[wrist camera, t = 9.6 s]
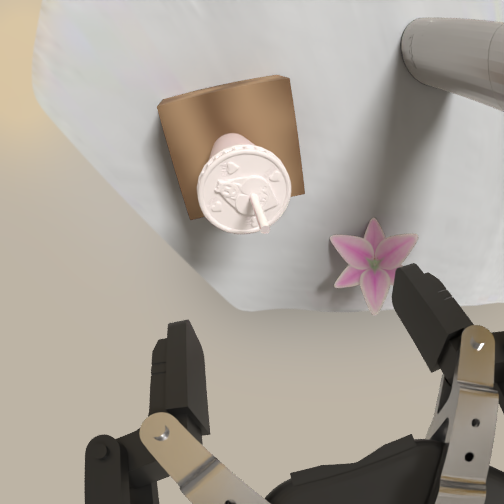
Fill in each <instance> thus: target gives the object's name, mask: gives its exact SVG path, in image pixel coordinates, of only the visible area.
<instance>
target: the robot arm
mask: <svg viewBox="0 0 504 504" xmlns="http://www.w3.org/2000/svg"><path fill="white" fill-rule="evenodd" d="M401 50H402V56H403V59H404V62H405V65H406V67H407V69H408V70H409V72H410V73H411V74H412V76H413V77H414V78H415V79H417V80H418V81H419V82H421V83H423V84H425V85H428V86H432V87H435V88H439V89H442V90H445V91H448V92H451V93H454V94H457V95H460V96H463V97H466V98H469V99H472V100H475V101H477V102H480V103H483V104H485V105H488V106H491V107H493V108H496V109H498V110H501V111H503V112H504V23H503V22H495V21H486V20H475V19H460V18H418V19H416V20H413V21H412V22H411V23H410V24H409V25H408V26H407V27H406V29H405V31H404V33H403V36H402V42H401ZM392 303H393V307H394V309H395V311H396V313H397V314H398V316H399V318H400V319H401V321H402V323H403V324H404V326H405V328H406V329H407V331H408V333H409V334H410V336H411V338H412V339H413V341H414V343H415V345H416V346H417V348H418V350H419V351H420V353H421V355H422V357H423V359H424V360H425V362H426V364H427V366H428V367H429V369H430V371H431V372H434V371H436V370H439V369H441V370H442V372H443V375H442V378H441V384H440V390H439V394H438V399H437V404H436V409H435V413H434V417H433V420H432V423H431V425H430V427H429V429H428V432H427V435H426V438H425V439H415V440H414V438H413V436H412V434H410V435H408V436H406V437H403V438H401V439H398V440H396V441H393V442H391V443H388V444H385V445H383V446H382V447H381V448H379V449H377V450H376V451H375V452H373V453H371V454H370V455H368V456H367V457H365V458H363V459H362V460H360V461H358V462H356V463H351V464H336V465H321V466H317V467H313V468H309V469H305V470H301V471H297V472H293V473H290V475H291V479H289V480H287V481H285V482H283V483H282V484H280V485H278V486H277V487H276V488H275V489H273V490H272V491H271V492H270V493H269V494H268V495H267V496H266V497H265V499H264V498H263V497H261V496H260V495H259V494H258V493H256V492H255V491H254V490H253V489H252V488H250V487H249V486H248V485H247V484H245V483H244V482H243V481H242V480H241V479H240V478H238V477H237V476H236V475H235V474H234V473H233V472H231V471H230V470H229V469H228V468H227V467H226V466H225V465H223V464H222V463H221V462H220V461H219V460H218V459H217V458H215V457H214V456H213V455H212V454H211V453H210V452H209V451H208V450H207V449H206V448H205V447H204V446H203V445H202V435H209V434H210V426H209V415H208V403H207V391H206V376H205V362H204V354H203V350H202V347H201V344H200V342H199V340H198V338H197V336H196V334H195V331H194V329H193V327H192V325H191V323H190V321H189V320H184V321H179V322H174V323H169V324H168V333H167V338H165V339H160V340H158V342H157V344H156V346H155V348H154V350H153V353H152V368H151V375H152V376H151V384H150V406H149V407H150V409H149V415H148V418H146V419H145V420H144V421H143V423H142V425H141V427H140V428H139V429H138V430H137V431H135V432H132V433H130V434H128V435H125V436H123V437H120V438H118V439H114V438H113V437H111V436H109V435H99V436H97V437H95V438H93V439H92V440H91V441H90V442H89V444H88V446H87V448H86V453H85V504H159V498H158V488H157V481H158V480H161V479H164V478H166V477H169V476H171V477H172V478H173V479H174V480H175V481H176V483H177V484H178V485H179V486H180V490H181V491H182V493H183V494H184V495H185V496H186V497H187V498H188V499H189V500H190V501H191V502H192V503H193V504H504V472H502V471H500V470H498V469H496V468H494V467H491V466H489V464H490V458H491V453H492V448H493V442H494V435H495V429H496V428H495V427H496V421H497V412H498V402H499V404H500V407H501V408H502V411H503V413H504V331H502V332H493V333H491V332H490V331H489V330H488V329H487V328H485V327H483V326H480V325H474V324H473V323H472V322H471V320H470V319H469V318H468V316H467V315H466V314H465V312H464V311H463V310H462V308H461V307H460V306H459V304H458V303H457V302H456V300H455V299H454V298H452V295H451V294H450V293H449V291H448V290H446V288H445V286H444V285H443V284H442V283H441V281H440V280H439V279H438V278H436V277H435V276H433V275H431V274H430V273H425V274H424V273H423V272H422V271H421V269H420V268H419V267H418V266H417V265H416V264H415V263H413V264H409V265H406V266H403V267H399V268H397V269H396V271H395V278H394V285H393V292H392Z"/></svg>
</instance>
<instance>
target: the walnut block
mask: <svg viewBox="0 0 504 504" xmlns="http://www.w3.org/2000/svg"><path fill="white" fill-rule="evenodd" d="M157 109H158V113H159V116H160V120H161V124H162V127H163V131H164V134H165V138H166V141H167V145H168V148H169V152H170V155H171V159H172V162H173V165H174V169H175V172H176V176H177V179H178V182H179V185H180V189H181V192H182V195H183V199H184V202H185V205H186V208H187V211H188V215H189V218H190V220H193V219H197V218H201V217H205V215H204V214H203V212H202V210H201V208H200V205H199V200H198V195H197V184H198V178H199V175H200V173H201V171H202V169H203V167H204V165H205V164H206V163H207V162H208V161H209V157H210V154H211V151H212V148H213V145H214V143H215V142H216V140H217V139H218V138H220V137H221V136H223V135H225V134H229V133H236V134H240V135H242V136H243V137H245V138H246V139H248V140H249V141H250V142H252V143H253V144H254V145H256V146H259V147H262V148H264V149H266V150H268V151H270V152H272V153H273V154H274V155H275V156H277V157H278V158H279V159H280V160H281V162H282V164H283V165H284V167H285V168H286V171H287V173H288V175H289V178H290V182H291V196H290V197H292V196H297V195H302V194H305V190H304V181H303V172H302V164H301V156H300V148H299V140H298V133H297V126H296V118H295V111H294V105H293V98H292V91H291V85H290V79H289V78H287V77H283V76H280V75H272V76H266V77H260V78H254V79H248V80H243V81H238V82H233V83H228V84H223V85H219V86H214V87H210V88H205V89H201V90H197V91H193V92H189V93H185V94H181V95H178V96H174V97H170V98H167V99H163V100H162V101H161V102H160V104H159V105H158V106H157Z"/></svg>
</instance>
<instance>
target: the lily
mask: <svg viewBox="0 0 504 504" xmlns="http://www.w3.org/2000/svg"><path fill="white" fill-rule="evenodd" d="M330 240H331V242H332V244H333V245H334V247H335V248H336V250H337V251H338V252H339V254H340V255H341V256H342V257H343V259H344V260H345V261H346V262H347V263H348V264H349V265H348V266H347V267H346V268H345V270H344V271H343V272H342V273H341V275H340V276H339V277H338V279H337V280H336V282H335V284H334V287H335V288H345V287H352V286H357V285H360V287H361V290H362V293H363V296H364V298H365V301H366V303H367V306H368V308H369V310H370V312H371V313H372V314H373V315H374V316H376V315H377V314H378V313H379V311H380V310H381V308H382V305H383V303H384V301H385V299H386V296H387V294H388V291H389V288H390V285H394V278H395V271H396V269H397V268H399V267H403V266H402V265H401V264H402V263H403V262H404V260H405V259H406V258H407V256H408V255H409V253H410V252H411V251H412V249H413V247H414V246H415V244H416V242H417V240H418V235H417V234H401V235H394V236H390V237H387V238H385V236H384V233H383V231H382V228H381V226H380V225H379V223H378V221H377V220H376V218H372V219H371V220H370V222H369V225H368V227H367V229H366V232H365V235H364V238H361V237H357V236H350V235H333V236H331V237H330Z"/></svg>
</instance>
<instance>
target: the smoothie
mask: <svg viewBox="0 0 504 504" xmlns="http://www.w3.org/2000/svg"><path fill="white" fill-rule="evenodd" d="M197 195H198V200H199V205H200V208H201V210H202V212H203V214H204V215H205V217H206V218H207V219H208V221H210V222H211V223H212V224H213V225H214V226H216V227H217V228H219V229H221V230H223V231H226V232H229V233H234V234H250V233H255V232H258V231H261V233H263V234H267V233H269V232H270V227H269V226H270V225H272V224H273V223H275V222H276V221H277V220H278V219H279V218H280V217H281V215H282V214H283V213H284V211H285V210H286V208H287V206H288V203H289V200H290V196H291V182H290V178H289V175H288V173H287V171H286V168H285V167H284V165H283V164H282V162H281V160H280V159H279V158H278V157H277V156H275V155H274V154H273V153H272V152H270V151H268V150H266V149H264V148H262V147H259V146H256V145H254V144H253V143H252V142H250V141H249V140H248V139H246V138H245V137H243V136H242V135H240V134H236V133H229V134H225V135H223V136H221V137H220V138H218V139H217V140H216V142H215V143H214V145H213V148H212V151H211V154H210V157H209V161H208V162H207V163H206V164H205V165H204V167H203V169H202V171H201V173H200V175H199V178H198V184H197Z"/></svg>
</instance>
